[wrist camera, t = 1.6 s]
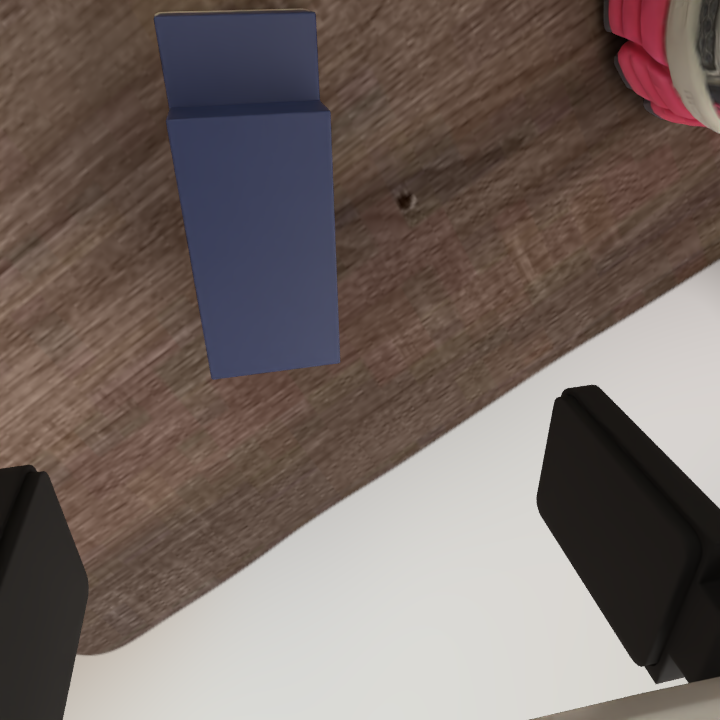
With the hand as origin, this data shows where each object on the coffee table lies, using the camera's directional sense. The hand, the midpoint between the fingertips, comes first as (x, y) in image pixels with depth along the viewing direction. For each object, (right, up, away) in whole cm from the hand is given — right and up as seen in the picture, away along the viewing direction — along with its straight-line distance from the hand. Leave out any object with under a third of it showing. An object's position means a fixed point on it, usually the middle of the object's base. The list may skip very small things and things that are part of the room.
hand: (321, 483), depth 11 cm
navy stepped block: (-4, +9, +13) cm, 16 cm away
